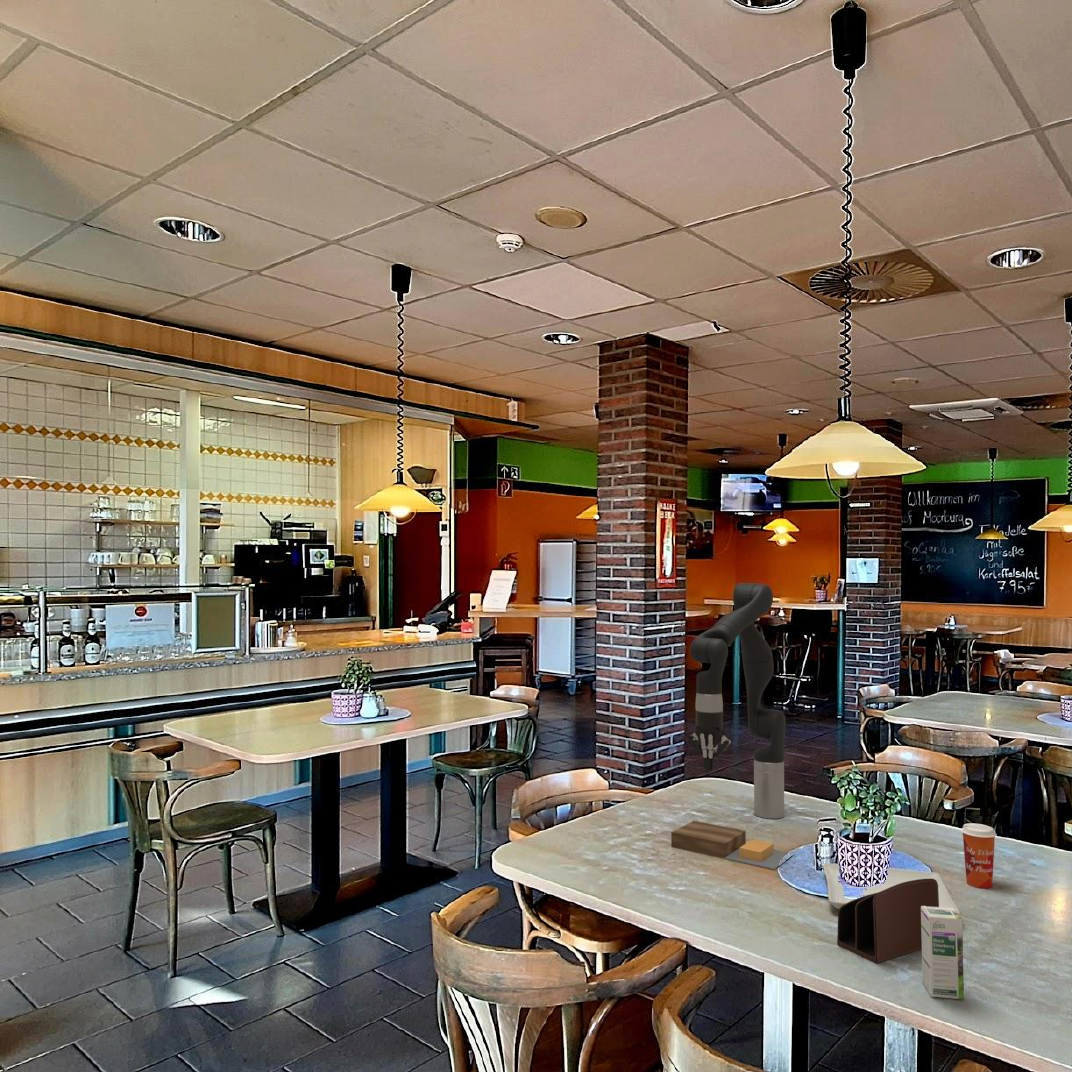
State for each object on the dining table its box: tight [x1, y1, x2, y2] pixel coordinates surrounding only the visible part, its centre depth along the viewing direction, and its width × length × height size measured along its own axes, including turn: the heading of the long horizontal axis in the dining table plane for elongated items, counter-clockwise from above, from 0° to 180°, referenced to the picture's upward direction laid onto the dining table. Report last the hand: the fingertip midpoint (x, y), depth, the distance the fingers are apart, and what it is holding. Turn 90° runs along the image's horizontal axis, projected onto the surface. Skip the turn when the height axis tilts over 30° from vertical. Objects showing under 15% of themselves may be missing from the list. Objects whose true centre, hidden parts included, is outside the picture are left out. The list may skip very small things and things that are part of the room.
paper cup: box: [961, 822, 998, 890], centre depth 210 cm, size 8×8×14 cm
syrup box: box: [921, 906, 965, 1001], centre depth 156 cm, size 6×6×14 cm
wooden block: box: [670, 820, 747, 859], centre depth 237 cm, size 14×16×4 cm
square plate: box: [822, 863, 961, 916], centre depth 200 cm, size 27×27×4 cm
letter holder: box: [836, 879, 939, 964], centre depth 176 cm, size 10×20×14 cm, turn 120°
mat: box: [723, 848, 790, 871], centre depth 228 cm, size 15×14×1 cm
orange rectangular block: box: [739, 839, 775, 862], centre depth 229 cm, size 9×6×2 cm, turn 143°
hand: (709, 770), depth 238 cm, fingers closed
